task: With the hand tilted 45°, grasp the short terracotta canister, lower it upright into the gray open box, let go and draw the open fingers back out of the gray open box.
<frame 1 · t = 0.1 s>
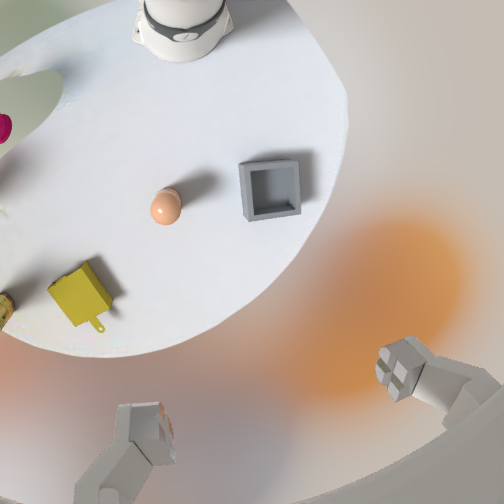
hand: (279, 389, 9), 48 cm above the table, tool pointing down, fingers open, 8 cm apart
yellow box with tab: (87, 295, 56), on the table
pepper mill: (2, 129, 38), on the table
gray open box: (266, 186, 56), on the table
sauce bottle: (6, 301, 50), on the table
canister: (167, 201, 52), on the table
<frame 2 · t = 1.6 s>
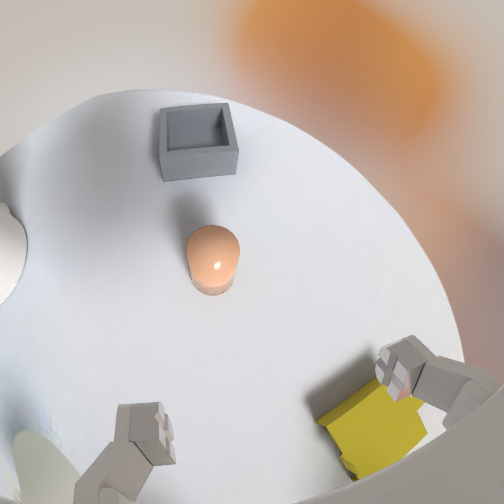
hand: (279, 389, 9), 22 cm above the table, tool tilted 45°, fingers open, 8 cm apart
yellow box with tab: (375, 418, 30), on the table
gray open box: (196, 151, 41), on the table
canister: (212, 274, 34), on the table
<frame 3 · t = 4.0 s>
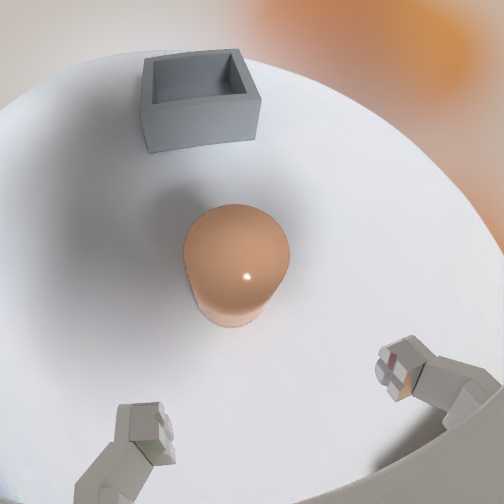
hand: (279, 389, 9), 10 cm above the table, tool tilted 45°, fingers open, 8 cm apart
gray open box: (196, 112, 27), on the table
canister: (230, 292, 21), on the table
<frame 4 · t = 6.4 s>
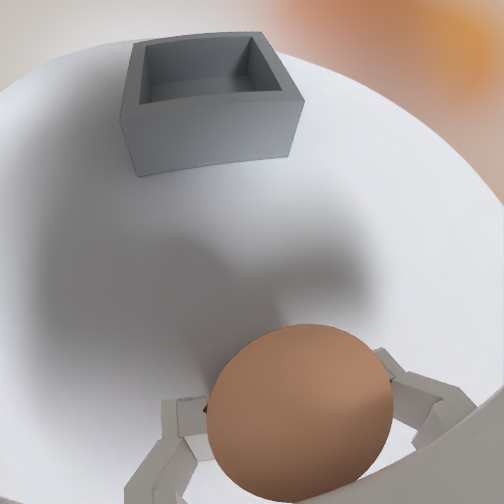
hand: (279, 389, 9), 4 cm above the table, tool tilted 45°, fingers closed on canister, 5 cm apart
gray open box: (204, 116, 20), on the table
canister: (265, 396, 13), on the table, touching gripper
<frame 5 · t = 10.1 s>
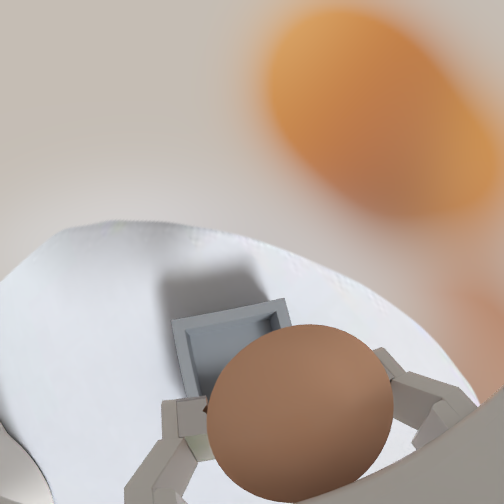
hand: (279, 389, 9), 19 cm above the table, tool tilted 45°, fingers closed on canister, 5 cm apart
gray open box: (238, 367, 27), on the table
canister: (265, 396, 13), point 15 cm above the table, touching gripper
when the fingers open (7 cm above the table, at t = 13.8 s): canister drops 1 cm, resting on gray open box.
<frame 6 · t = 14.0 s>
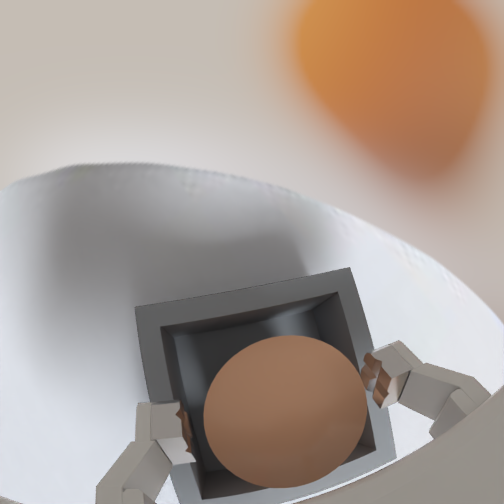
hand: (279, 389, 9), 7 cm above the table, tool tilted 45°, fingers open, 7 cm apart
gray open box: (259, 392, 15), on the table
canister: (260, 394, 14), point 1 cm above the table, touching gray open box
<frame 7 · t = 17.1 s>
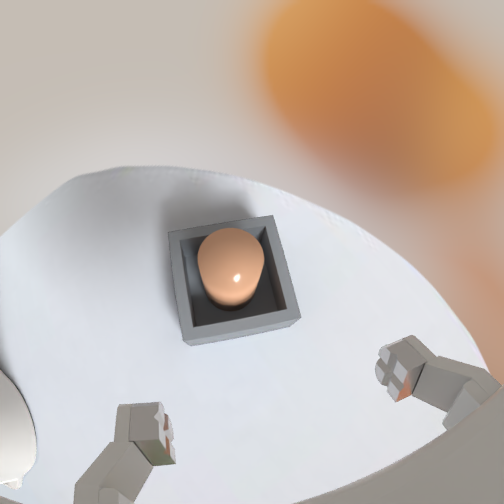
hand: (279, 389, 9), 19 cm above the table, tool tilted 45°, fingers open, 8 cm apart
gray open box: (230, 289, 30), on the table
canister: (230, 286, 29), point 1 cm above the table, touching gray open box
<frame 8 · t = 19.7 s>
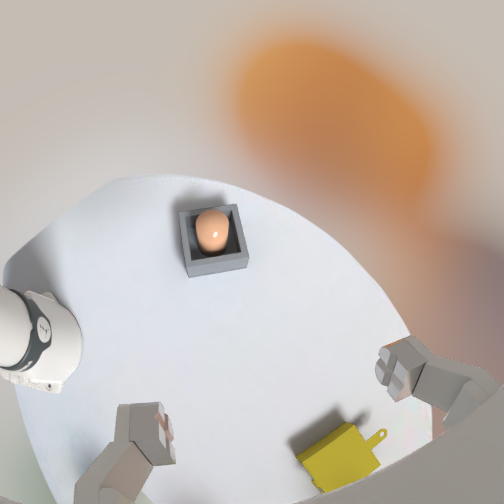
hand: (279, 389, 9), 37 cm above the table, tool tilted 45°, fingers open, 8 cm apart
yellow box with tab: (342, 452, 40), on the table
gray open box: (212, 246, 52), on the table
canister: (212, 244, 51), point 1 cm above the table, touching gray open box
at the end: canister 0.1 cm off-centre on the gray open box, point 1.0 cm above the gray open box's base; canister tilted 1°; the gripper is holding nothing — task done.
